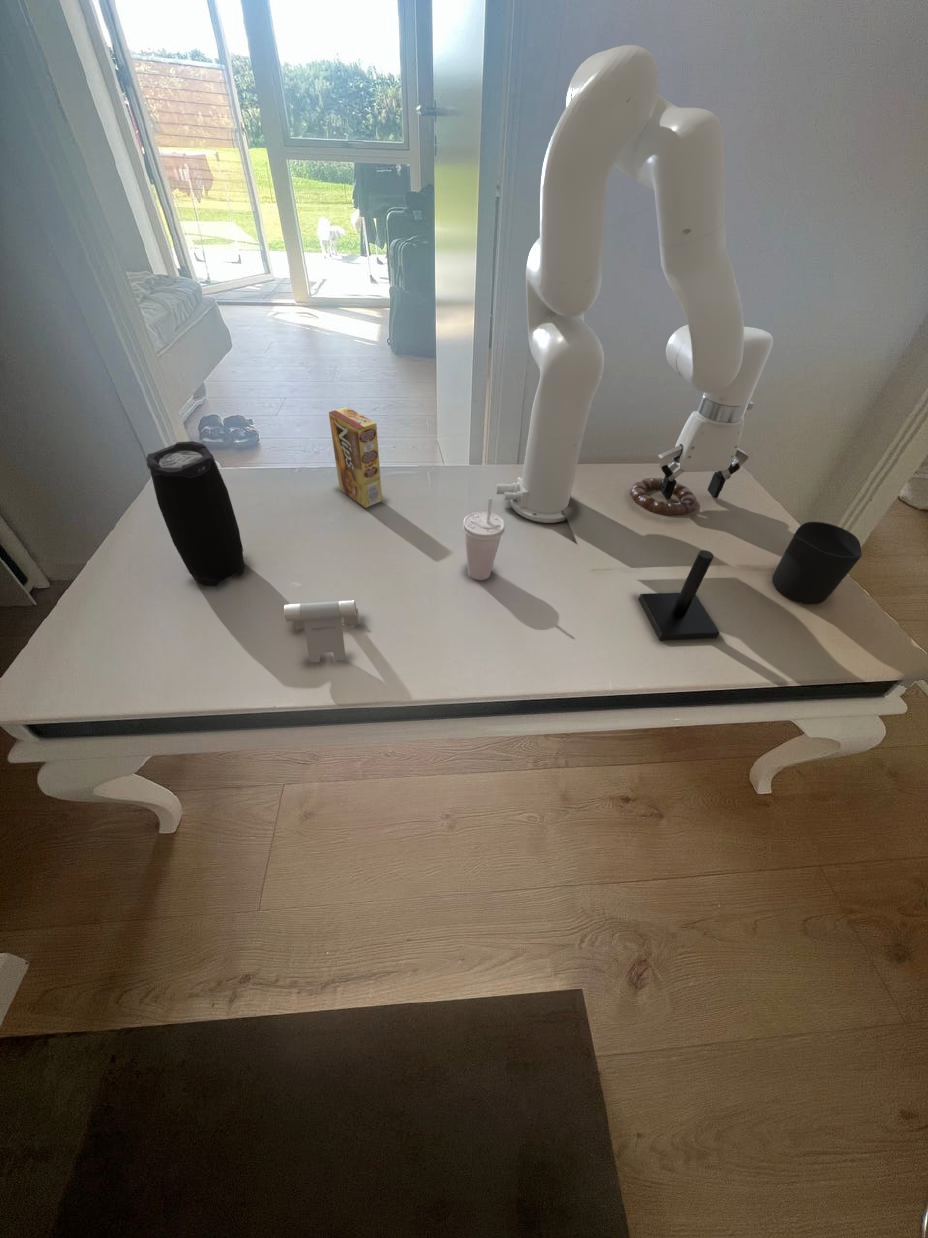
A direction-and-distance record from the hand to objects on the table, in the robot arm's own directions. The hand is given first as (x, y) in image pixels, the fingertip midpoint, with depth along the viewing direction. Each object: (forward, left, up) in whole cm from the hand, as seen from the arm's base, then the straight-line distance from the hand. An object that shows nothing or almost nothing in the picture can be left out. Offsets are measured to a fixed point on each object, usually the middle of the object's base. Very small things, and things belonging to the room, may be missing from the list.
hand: (688, 494), depth 103 cm
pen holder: (+9, -26, -2) cm, 28 cm away
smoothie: (-44, -20, -2) cm, 49 cm away
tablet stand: (-67, -34, -2) cm, 75 cm away
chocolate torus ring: (-5, 0, -1) cm, 5 cm away
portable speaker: (-85, -18, -2) cm, 87 cm away
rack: (-15, -32, -2) cm, 36 cm away
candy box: (-64, +4, -2) cm, 64 cm away
